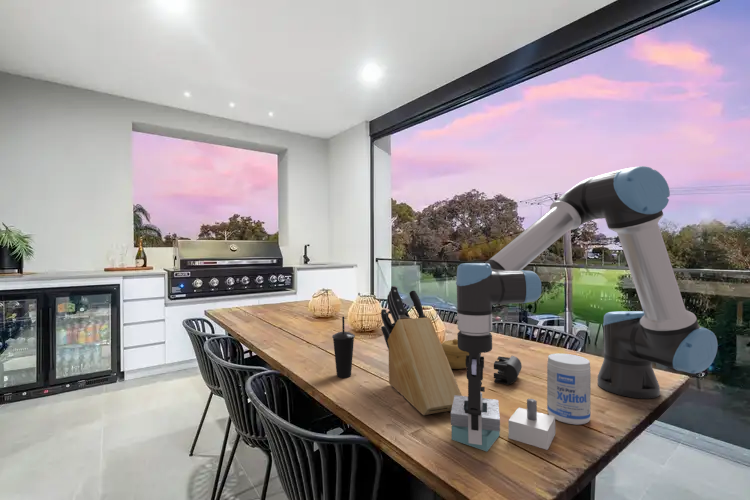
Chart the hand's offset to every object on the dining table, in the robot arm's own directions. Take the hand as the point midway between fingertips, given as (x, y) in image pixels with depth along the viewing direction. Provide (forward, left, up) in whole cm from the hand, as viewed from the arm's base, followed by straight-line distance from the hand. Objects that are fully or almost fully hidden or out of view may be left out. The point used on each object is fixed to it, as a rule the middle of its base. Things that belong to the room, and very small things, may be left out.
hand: (475, 430), depth 79 cm
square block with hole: (0, 0, +3) cm, 3 cm away
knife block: (+24, -14, -2) cm, 28 cm away
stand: (-10, -8, -2) cm, 13 cm away
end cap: (+5, -40, -2) cm, 40 cm away
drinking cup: (+51, -12, -2) cm, 52 cm away
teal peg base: (0, 0, -2) cm, 2 cm away
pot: (+24, -42, -2) cm, 48 cm away
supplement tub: (-15, -23, -2) cm, 27 cm away
